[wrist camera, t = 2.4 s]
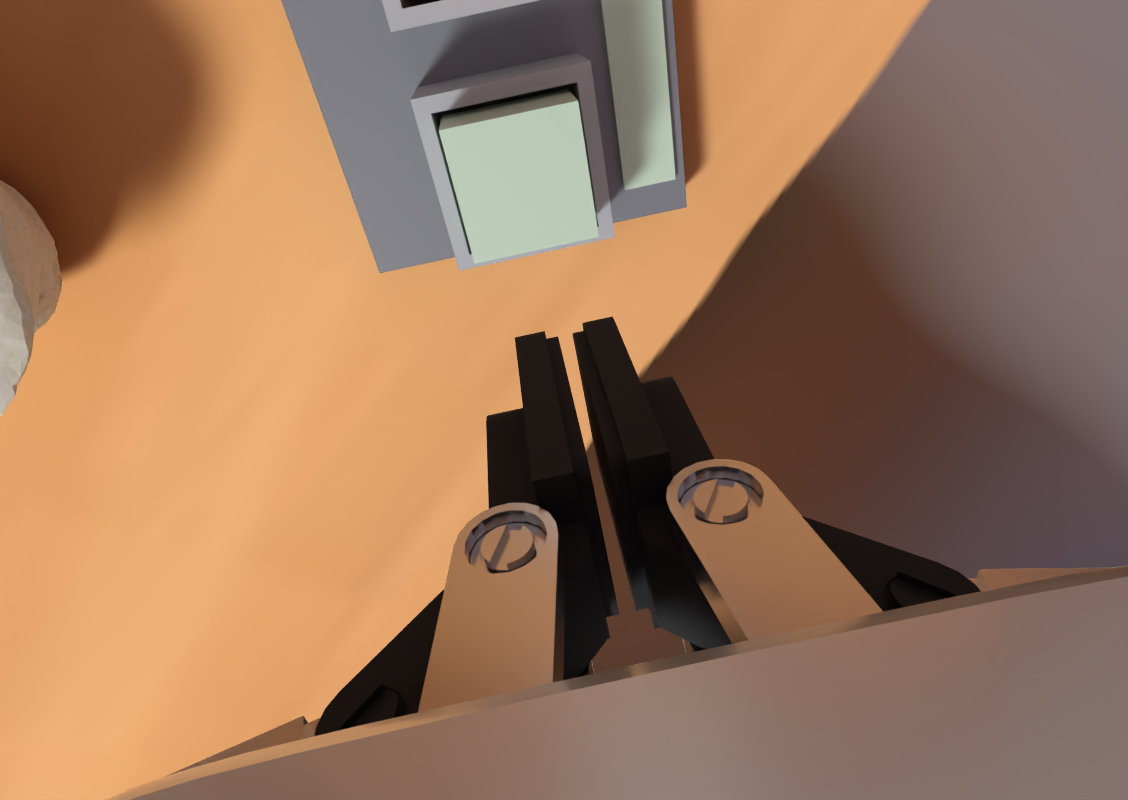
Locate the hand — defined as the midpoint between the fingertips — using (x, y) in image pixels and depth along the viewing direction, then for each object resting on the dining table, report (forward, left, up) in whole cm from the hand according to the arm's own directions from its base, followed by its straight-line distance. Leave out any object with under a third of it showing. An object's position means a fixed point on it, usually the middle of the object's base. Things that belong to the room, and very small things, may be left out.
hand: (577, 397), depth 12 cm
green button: (0, 0, -18) cm, 18 cm away
